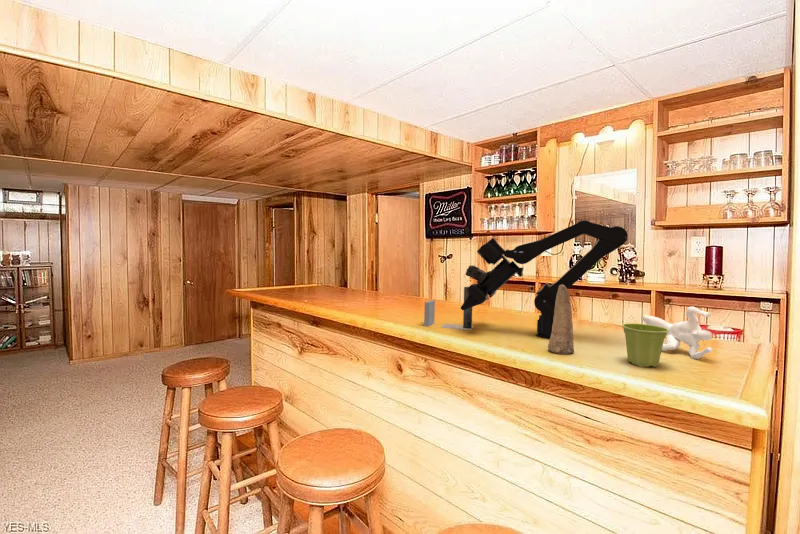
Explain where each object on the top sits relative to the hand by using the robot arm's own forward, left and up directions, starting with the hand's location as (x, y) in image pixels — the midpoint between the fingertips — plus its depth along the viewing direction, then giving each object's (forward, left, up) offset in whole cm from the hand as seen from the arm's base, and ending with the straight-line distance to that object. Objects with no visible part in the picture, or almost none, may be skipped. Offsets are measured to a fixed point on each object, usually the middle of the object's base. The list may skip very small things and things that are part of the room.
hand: (463, 307), depth 129 cm
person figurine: (-56, -15, -7) cm, 58 cm away
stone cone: (-34, +7, -7) cm, 35 cm away
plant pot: (-51, +4, -7) cm, 52 cm away
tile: (+11, +4, -7) cm, 13 cm away
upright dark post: (+2, +1, -7) cm, 7 cm away
